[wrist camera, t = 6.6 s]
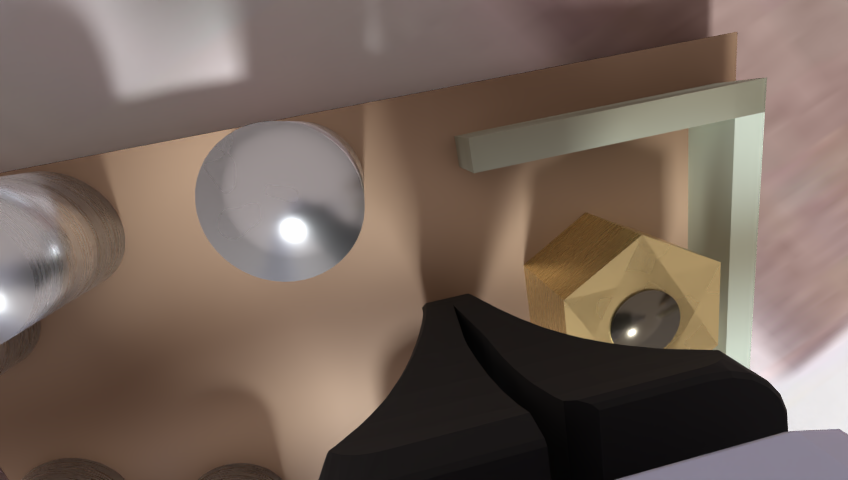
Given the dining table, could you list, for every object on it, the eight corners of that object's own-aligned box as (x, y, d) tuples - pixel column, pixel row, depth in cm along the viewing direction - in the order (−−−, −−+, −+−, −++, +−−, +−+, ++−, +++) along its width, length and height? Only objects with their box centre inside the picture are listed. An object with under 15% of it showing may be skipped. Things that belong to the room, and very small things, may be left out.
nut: (682, 280, 13) (756, 317, 10) (567, 373, 13) (613, 430, 11) (617, 185, 12) (684, 201, 9) (493, 290, 12) (526, 333, 10)
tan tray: (696, 390, 16) (761, 442, 13) (100, 551, 14) (41, 647, 11) (702, 40, 12) (793, 18, 10) (-106, 195, 10) (-262, 219, 8)
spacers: (479, 475, 14) (509, 567, 11) (68, 588, 13) (-17, 723, 10) (408, 98, 10) (426, 90, 7) (-172, 211, 9) (-415, 251, 6)
